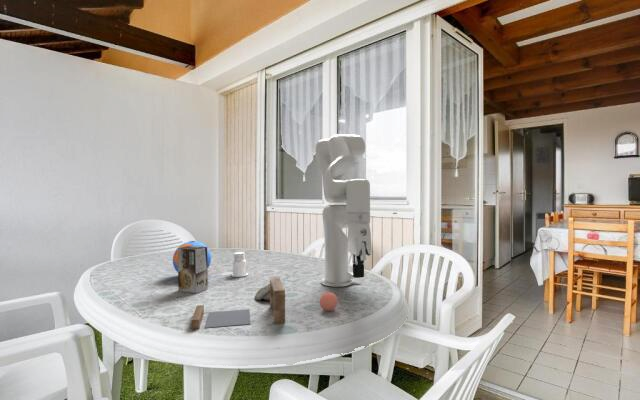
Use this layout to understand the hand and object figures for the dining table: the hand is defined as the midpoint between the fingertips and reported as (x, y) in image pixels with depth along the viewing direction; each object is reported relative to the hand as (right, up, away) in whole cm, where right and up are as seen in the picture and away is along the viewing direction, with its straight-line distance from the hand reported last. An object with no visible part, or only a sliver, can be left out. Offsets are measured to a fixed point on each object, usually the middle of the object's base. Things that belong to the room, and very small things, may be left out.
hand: (358, 276), depth 108 cm
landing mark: (-39, -10, -8) cm, 41 cm away
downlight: (-47, -9, +43) cm, 65 cm away
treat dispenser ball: (-67, -9, +41) cm, 79 cm away
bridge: (-25, -10, -5) cm, 27 cm away
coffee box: (-60, -10, +21) cm, 64 cm away
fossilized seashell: (-29, -10, +12) cm, 33 cm away
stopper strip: (-47, -10, -10) cm, 49 cm away
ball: (-9, -7, -1) cm, 12 cm away
